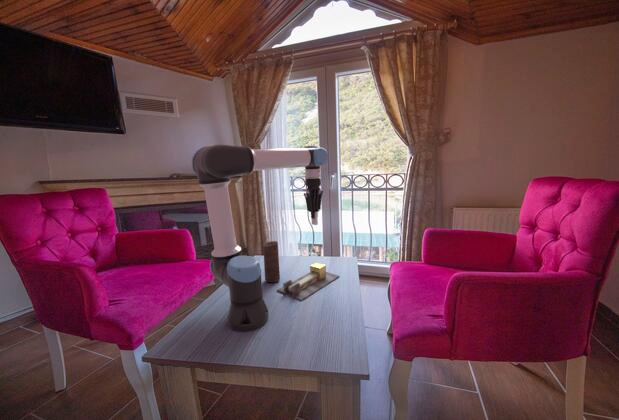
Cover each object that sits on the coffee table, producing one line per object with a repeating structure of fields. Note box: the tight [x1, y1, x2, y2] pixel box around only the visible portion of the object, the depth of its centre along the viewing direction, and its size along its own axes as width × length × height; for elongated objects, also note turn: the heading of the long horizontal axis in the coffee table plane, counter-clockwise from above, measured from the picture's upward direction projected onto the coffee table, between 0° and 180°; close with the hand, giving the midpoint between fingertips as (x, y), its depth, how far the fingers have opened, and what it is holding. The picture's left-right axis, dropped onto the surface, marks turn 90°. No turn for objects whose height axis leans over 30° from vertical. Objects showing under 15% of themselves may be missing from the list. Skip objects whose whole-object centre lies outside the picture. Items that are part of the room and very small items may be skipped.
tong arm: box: [287, 272, 318, 291], centre depth 125 cm, size 21×3×2 cm, turn 140°
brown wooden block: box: [262, 240, 281, 283], centre depth 130 cm, size 8×7×20 cm
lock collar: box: [309, 262, 327, 281], centre depth 132 cm, size 5×6×6 cm
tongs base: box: [276, 271, 340, 302], centre depth 127 cm, size 29×15×5 cm, turn 140°
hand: (314, 224), depth 134 cm, fingers closed
